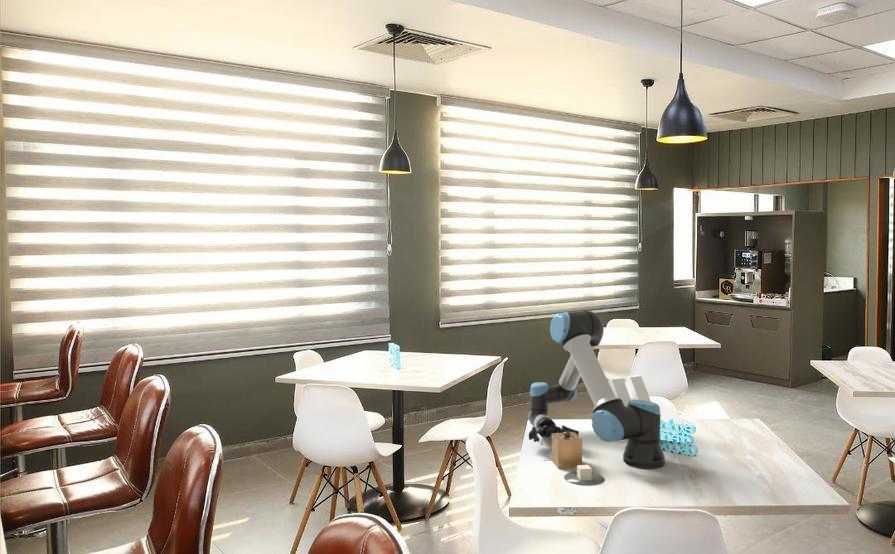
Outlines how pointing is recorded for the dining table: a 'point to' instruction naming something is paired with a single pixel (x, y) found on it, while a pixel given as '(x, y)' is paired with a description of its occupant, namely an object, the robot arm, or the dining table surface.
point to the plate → (574, 479)
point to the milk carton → (629, 390)
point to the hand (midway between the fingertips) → (559, 441)
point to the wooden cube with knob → (566, 450)
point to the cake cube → (584, 472)
